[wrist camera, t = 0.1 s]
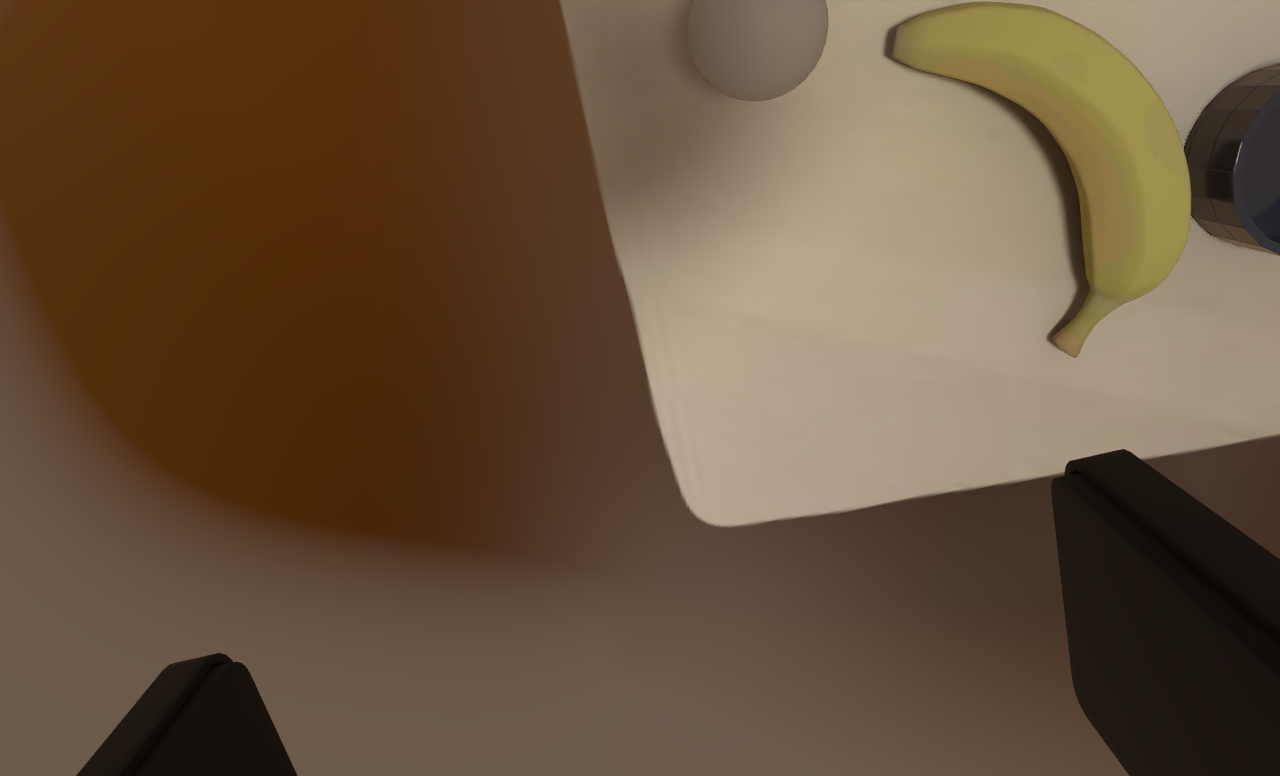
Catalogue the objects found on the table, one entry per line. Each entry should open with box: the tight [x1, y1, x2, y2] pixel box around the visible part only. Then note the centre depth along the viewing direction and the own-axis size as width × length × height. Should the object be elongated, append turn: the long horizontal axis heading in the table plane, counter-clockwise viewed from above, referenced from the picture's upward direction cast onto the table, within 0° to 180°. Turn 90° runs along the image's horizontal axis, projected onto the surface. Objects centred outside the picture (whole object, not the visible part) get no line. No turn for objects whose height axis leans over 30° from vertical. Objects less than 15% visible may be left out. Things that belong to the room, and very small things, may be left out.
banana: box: [891, 2, 1191, 358], centre depth 47 cm, size 14×6×20 cm
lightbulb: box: [687, 0, 828, 101], centre depth 41 cm, size 6×6×11 cm
